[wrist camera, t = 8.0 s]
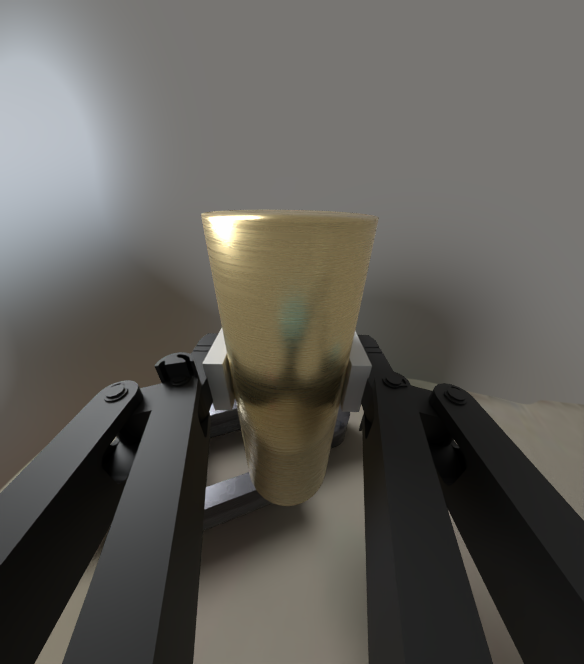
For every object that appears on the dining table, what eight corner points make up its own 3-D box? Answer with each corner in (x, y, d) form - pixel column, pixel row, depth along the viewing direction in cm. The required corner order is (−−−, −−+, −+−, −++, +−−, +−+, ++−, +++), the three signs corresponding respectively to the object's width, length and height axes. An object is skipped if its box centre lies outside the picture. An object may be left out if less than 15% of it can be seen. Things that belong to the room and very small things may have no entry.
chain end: (324, 394, 31) (327, 374, 29) (365, 465, 23) (374, 445, 21) (180, 435, 25) (169, 414, 23) (168, 544, 18) (151, 529, 15)
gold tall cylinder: (307, 416, 17) (325, 209, 9) (341, 485, 13) (423, 221, 5) (242, 436, 15) (200, 209, 8) (258, 522, 11) (201, 224, 4)
